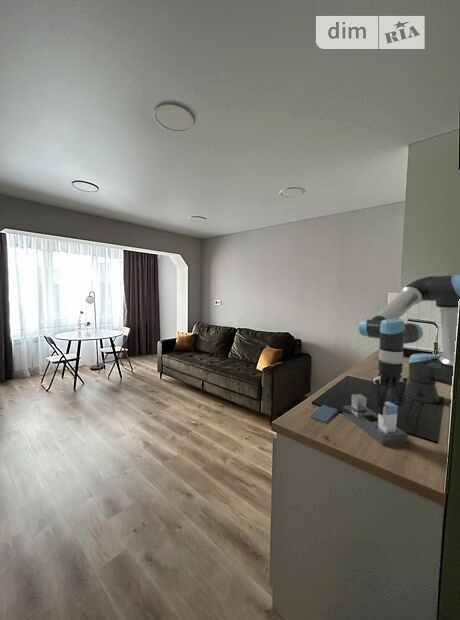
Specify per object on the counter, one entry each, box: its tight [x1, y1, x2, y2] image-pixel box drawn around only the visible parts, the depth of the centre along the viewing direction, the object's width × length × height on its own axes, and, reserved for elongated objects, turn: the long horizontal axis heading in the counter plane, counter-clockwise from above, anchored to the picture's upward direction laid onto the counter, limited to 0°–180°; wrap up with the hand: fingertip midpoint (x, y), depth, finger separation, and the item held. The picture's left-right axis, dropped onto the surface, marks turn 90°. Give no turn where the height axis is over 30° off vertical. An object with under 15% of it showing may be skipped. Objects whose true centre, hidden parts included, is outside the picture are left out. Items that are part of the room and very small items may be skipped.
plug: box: [378, 401, 398, 433], centre depth 94 cm, size 4×4×12 cm
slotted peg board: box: [341, 393, 408, 446], centre depth 102 cm, size 10×24×9 cm, turn 9°
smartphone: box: [309, 404, 339, 424], centre depth 111 cm, size 8×2×15 cm
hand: (387, 421), depth 94 cm, fingers closed on plug, 4 cm apart
